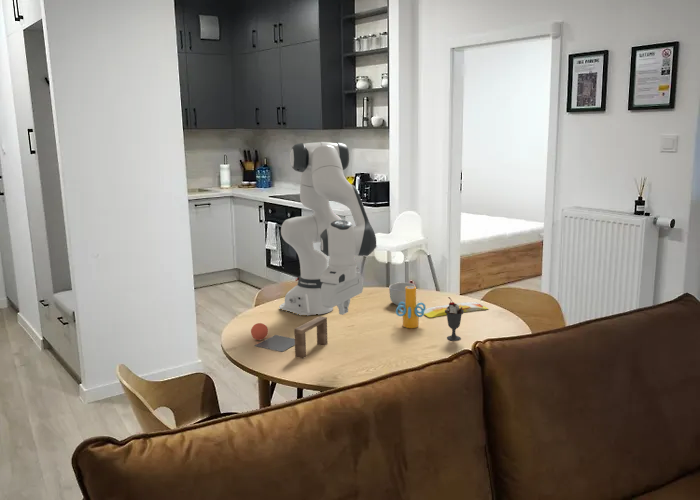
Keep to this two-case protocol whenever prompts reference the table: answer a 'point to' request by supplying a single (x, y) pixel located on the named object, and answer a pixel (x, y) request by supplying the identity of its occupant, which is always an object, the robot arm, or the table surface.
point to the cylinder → (410, 308)
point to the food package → (465, 306)
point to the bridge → (301, 337)
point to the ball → (259, 331)
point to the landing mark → (277, 343)
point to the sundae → (453, 319)
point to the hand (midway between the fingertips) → (343, 313)
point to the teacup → (398, 292)
